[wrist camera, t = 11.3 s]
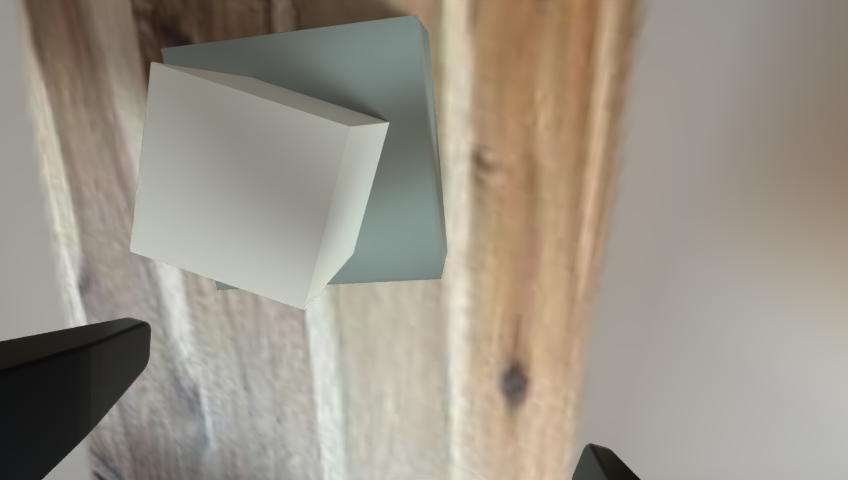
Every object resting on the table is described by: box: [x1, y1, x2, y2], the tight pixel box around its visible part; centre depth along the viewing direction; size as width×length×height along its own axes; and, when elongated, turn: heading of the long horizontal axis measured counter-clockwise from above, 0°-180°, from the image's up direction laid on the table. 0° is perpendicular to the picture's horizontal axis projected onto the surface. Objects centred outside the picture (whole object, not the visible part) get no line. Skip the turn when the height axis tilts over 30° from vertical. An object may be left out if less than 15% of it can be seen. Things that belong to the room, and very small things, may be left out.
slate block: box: [161, 15, 447, 290], centre depth 18 cm, size 9×9×4 cm
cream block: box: [130, 62, 389, 310], centre depth 14 cm, size 5×5×5 cm
